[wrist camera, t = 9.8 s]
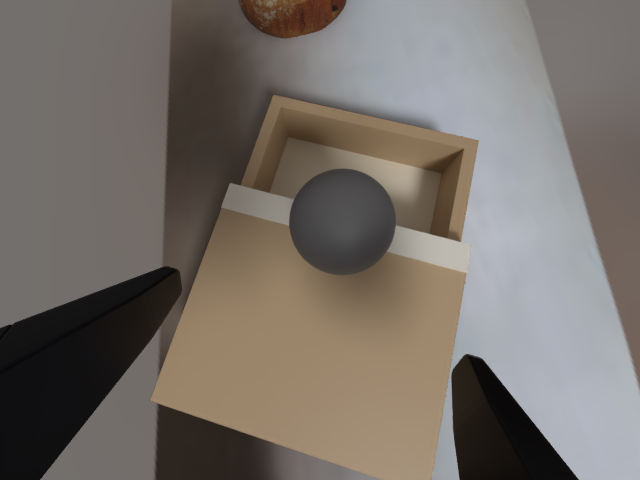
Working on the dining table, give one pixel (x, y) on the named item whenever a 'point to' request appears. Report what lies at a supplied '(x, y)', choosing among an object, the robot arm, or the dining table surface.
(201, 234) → the dining table surface
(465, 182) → the wooden box
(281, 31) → the bread roll
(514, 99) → the dining table surface
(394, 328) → the lid
